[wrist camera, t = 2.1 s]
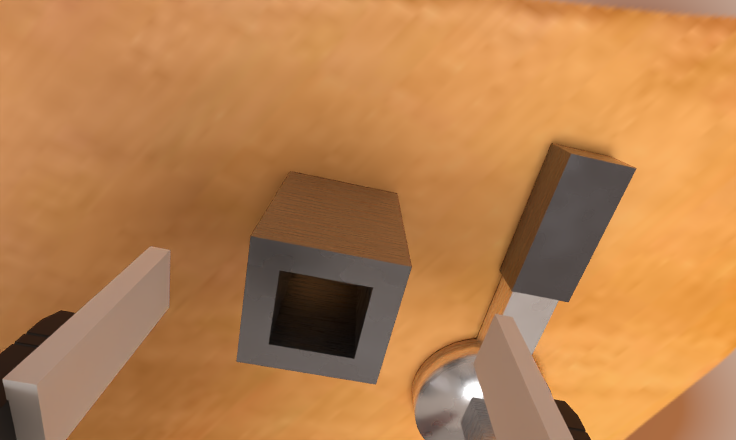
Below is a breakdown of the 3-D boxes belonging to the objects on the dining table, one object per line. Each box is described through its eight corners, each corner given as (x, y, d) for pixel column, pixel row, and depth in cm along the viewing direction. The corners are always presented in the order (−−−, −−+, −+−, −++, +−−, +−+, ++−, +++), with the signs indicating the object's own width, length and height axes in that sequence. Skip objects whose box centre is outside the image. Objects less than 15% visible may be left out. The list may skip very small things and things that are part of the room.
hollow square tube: (276, 264, 24) (236, 361, 17) (290, 171, 22) (250, 235, 14) (373, 283, 25) (375, 384, 17) (397, 193, 22) (411, 266, 15)
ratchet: (398, 423, 29) (405, 510, 24) (501, 131, 21) (549, 163, 15) (513, 441, 30) (545, 529, 25) (658, 167, 22) (757, 209, 16)
